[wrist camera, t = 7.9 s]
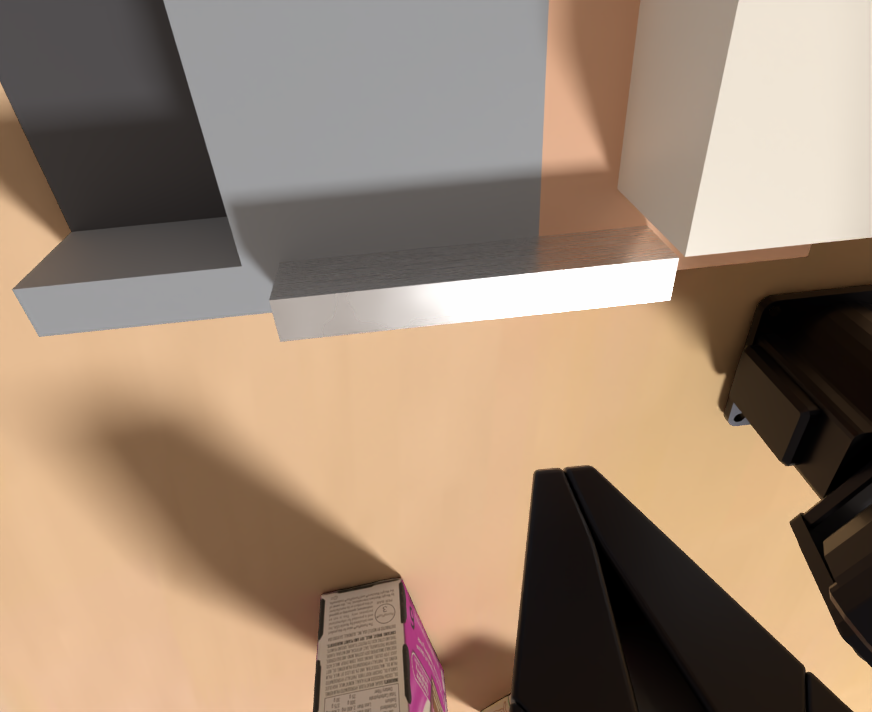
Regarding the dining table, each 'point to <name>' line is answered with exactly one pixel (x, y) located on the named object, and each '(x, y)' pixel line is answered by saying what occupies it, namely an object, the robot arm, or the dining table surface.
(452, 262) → the channel walls
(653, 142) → the cream block
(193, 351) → the dining table surface
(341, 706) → the candy bar box
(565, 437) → the dining table surface
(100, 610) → the dining table surface
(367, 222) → the grey piece
